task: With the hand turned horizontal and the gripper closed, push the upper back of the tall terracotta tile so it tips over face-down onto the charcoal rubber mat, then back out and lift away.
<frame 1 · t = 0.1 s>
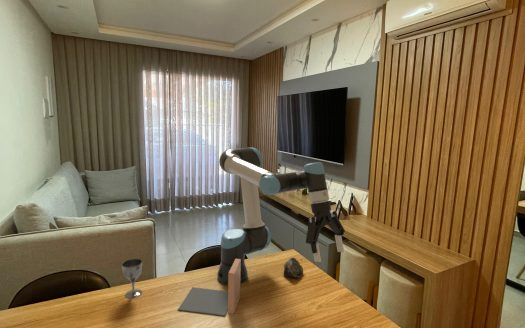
hand: (329, 256, 113), 28 cm above the table, tool tilted 20°, fingers open, 13 cm apart
tile: (234, 304, 126), on the table
mat: (207, 301, 128), on the table
wine glass: (133, 294, 131), on the table
fossil: (292, 275, 151), on the table
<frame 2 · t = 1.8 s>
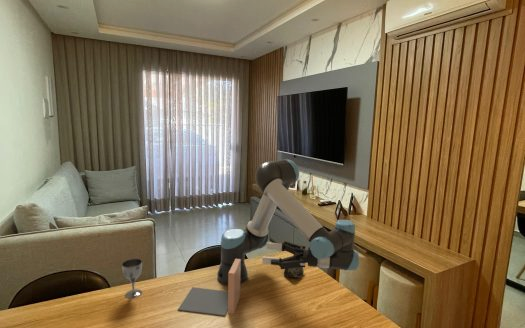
hand: (264, 252, 120), 25 cm above the table, tool horizontal, fingers open, 12 cm apart
nothing on the table moved.
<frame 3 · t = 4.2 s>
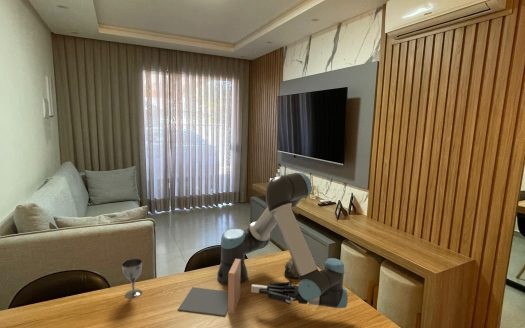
hand: (251, 288, 124), 9 cm above the table, tool horizontal, fingers closed
nothing on the table moved.
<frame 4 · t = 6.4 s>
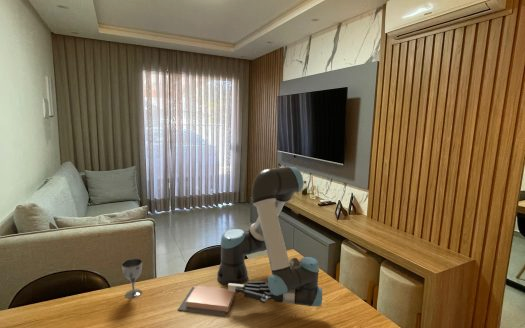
hand: (228, 286, 124), 8 cm above the table, tool horizontal, fingers closed
tile: (231, 300, 126), point 2 cm above the table, tilted 90°, touching mat
everything else where it was.
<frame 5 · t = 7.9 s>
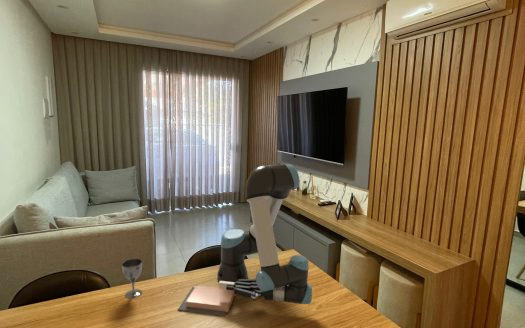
hand: (219, 284, 126), 8 cm above the table, tool horizontal, fingers closed
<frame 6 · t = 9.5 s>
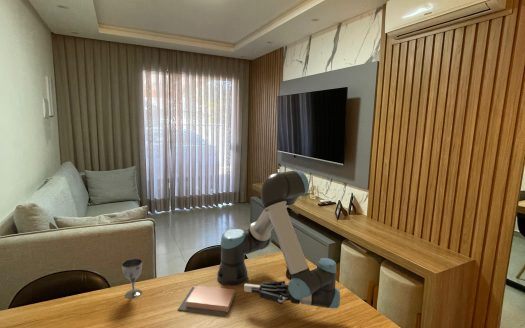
hand: (244, 287, 124), 9 cm above the table, tool horizontal, fingers closed
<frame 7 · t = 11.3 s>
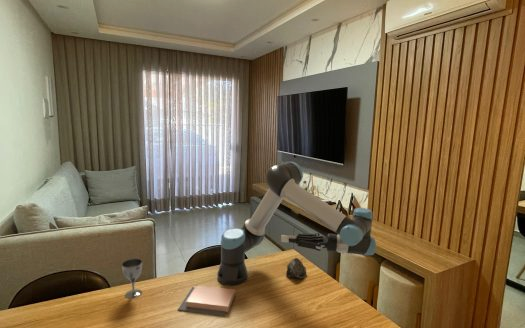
hand: (281, 238, 128), 28 cm above the table, tool horizontal, fingers closed
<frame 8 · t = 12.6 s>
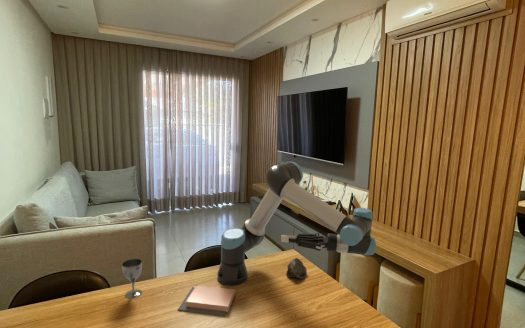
hand: (281, 238, 128), 28 cm above the table, tool horizontal, fingers closed
at the end: tile tilted 90°; tile touching mat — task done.
